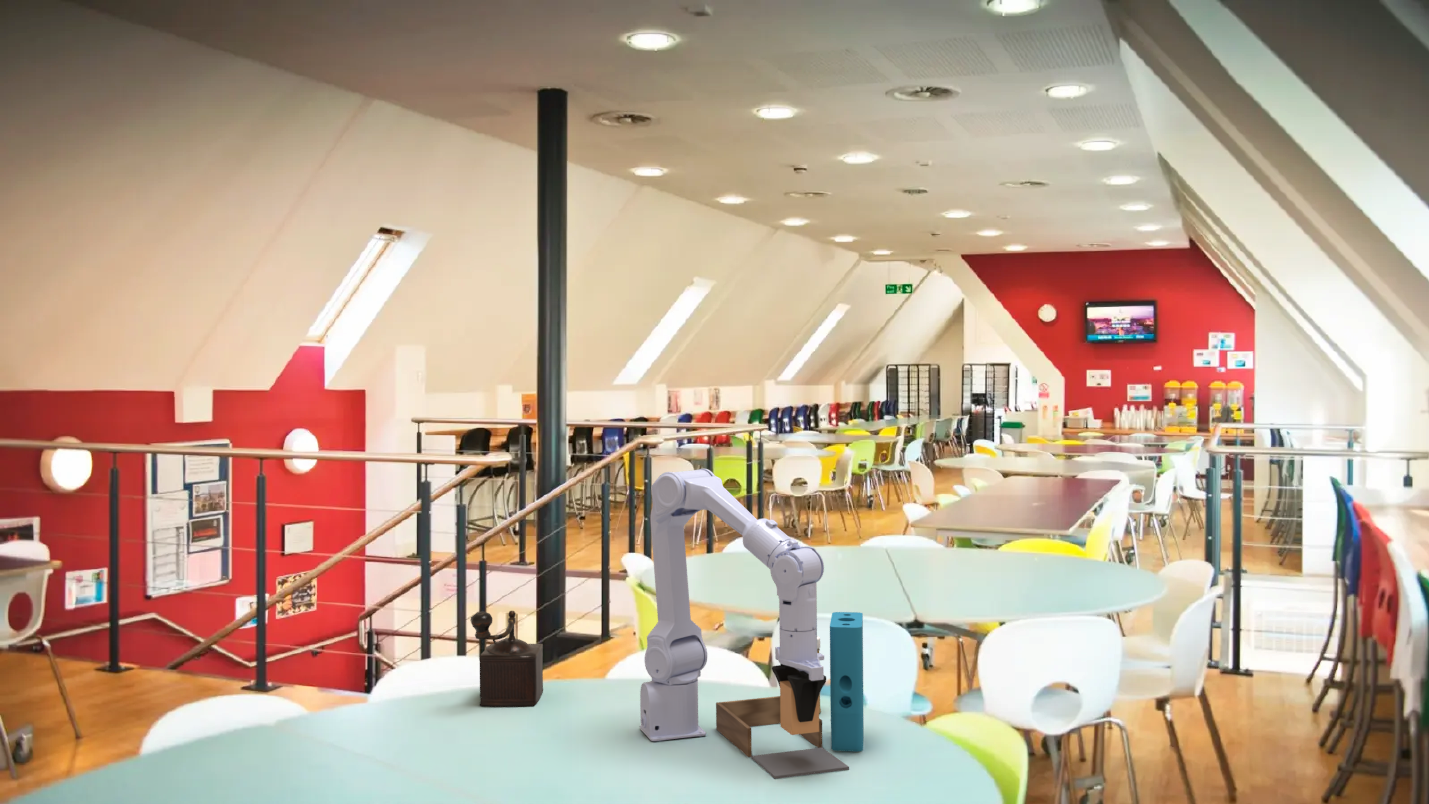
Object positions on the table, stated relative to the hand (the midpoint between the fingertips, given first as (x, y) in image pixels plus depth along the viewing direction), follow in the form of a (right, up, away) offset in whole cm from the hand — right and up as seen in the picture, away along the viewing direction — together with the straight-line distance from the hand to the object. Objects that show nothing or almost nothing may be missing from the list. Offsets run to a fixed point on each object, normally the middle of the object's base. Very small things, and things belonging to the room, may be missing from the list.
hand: (799, 716), depth 179 cm
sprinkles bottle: (+4, -7, +28) cm, 29 cm away
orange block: (0, -2, 0) cm, 2 cm away
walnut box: (-4, -7, +13) cm, 15 cm away
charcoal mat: (0, -7, 0) cm, 7 cm away
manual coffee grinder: (-51, -7, +36) cm, 63 cm away
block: (+9, -7, +10) cm, 15 cm away
